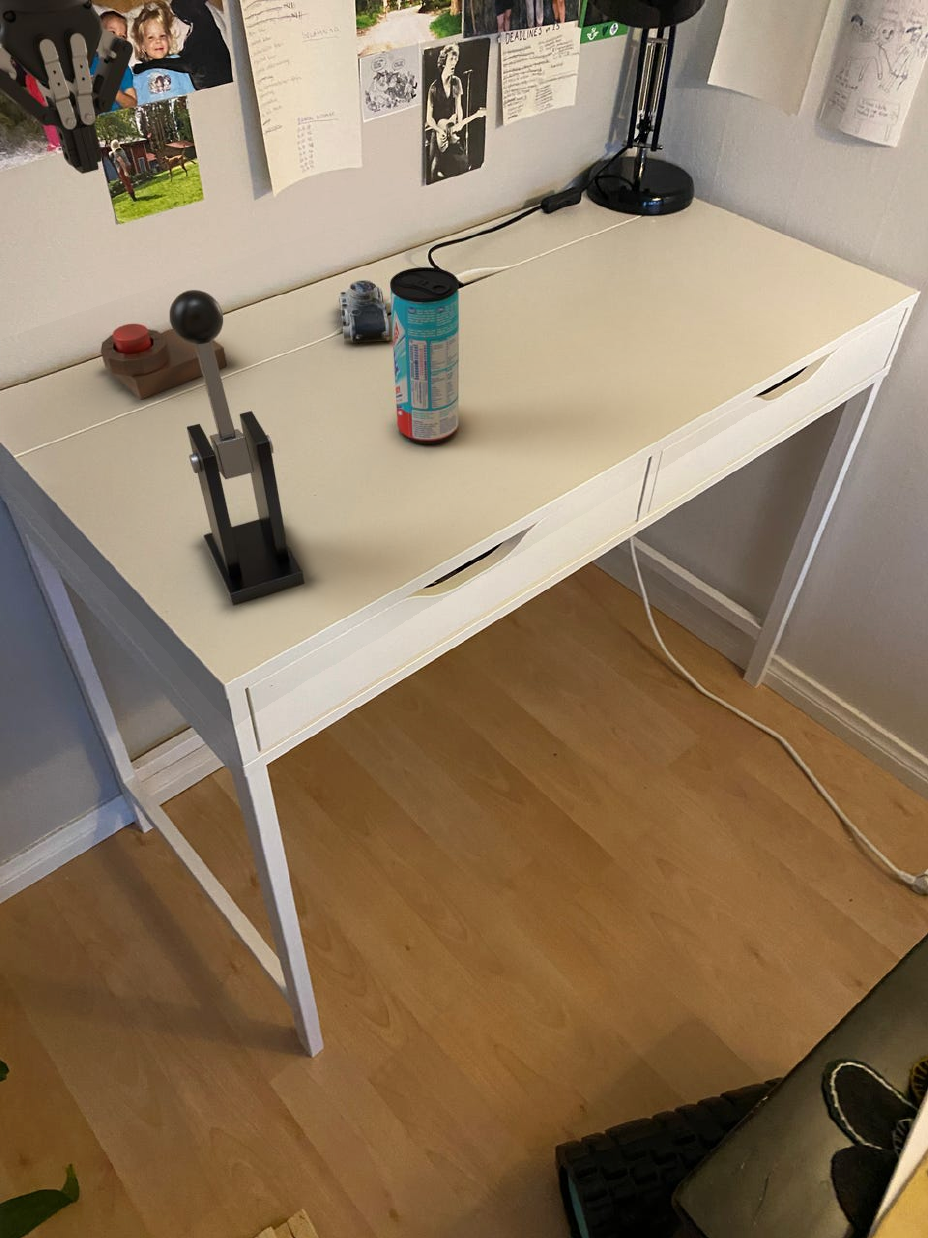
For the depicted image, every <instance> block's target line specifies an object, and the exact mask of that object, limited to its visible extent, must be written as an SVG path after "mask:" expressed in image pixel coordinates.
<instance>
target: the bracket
mask: <svg viewBox="0 0 928 1238" xmlns="http://www.w3.org/2000/svg"><path fill="white" fill-rule="evenodd" d="M239 419H240V425H241V430H242V434H243V435H244V436H245V437H246V441H247V445H248V449H249V453H250V457H251V461H252V465H253V469H254V472H252V473H250V478H251V483H252V488H253V494H254V499H255V504H256V508H257V514H258V519H255V520H251V521H248V522H244V523H241V524H237V525H234V526H232V524H231V523H232V522H231V517H230V514H229V509H228V504H227V501H226V500H227V499H226V496H225V491H224V487H223V482H222V477H221V473H220V471H219V468H218V463H217V458H216V455H215V453H214V451H213V447H212V444H211V442H210V441H209V439H208V438H207V435H206V433H205V431H204V429H203V427H202V425H201V424H200V423H197V424H192V425H189V426H188V425H187V426H186V431H187V435H188V439H189V443H190V447H191V452H192V454H189V455H188V457H189V462H190V466H191V468H192V470H193V472H194V474H197V476H198V482H199V485H200V489H201V494H202V497H203V502H204V506H205V510H206V514H207V519H208V523H209V527H210V531H211V532H209V533H205V534H203V540H204V543H205V547H206V550H207V551H208V553H209V555H210V558H211V560H212V562H213V565H214V566H215V569H216V571H217V574H218V576H219V578H220V580H221V582H222V584H223V587H224V589H225V592H226V594H227V595H228V598H229V600H230V603H231V604H232V605H237V604H240V603H244V602H247V601H250V600H253V599H256V598H259V597H262V596H265V595H269V594H273V593H276V592H278V591H282V590H285V589H289V588H291V587H295V586H297V585H302V584H304V583H305V578H304V577H305V576H304V571H303V570H302V567H301V566H300V564H299V562H298V560H297V559H296V556H295V554H294V553H293V551H292V549H291V548H290V546H289V544H288V542H287V536H286V531H285V524H284V519H283V513H282V507H281V500H280V494H279V487H278V483H277V476H276V472H275V471H276V470H275V464H274V458H273V454H274V445H273V443H272V439H271V437H270V436H269V434H266V432H265V431H264V429H263V428H262V426H261V424H260V422H259V420H258V418H257V417H256V415H255V414H254V412H253V411H252V410H249V411H245V412H241V413H239Z"/></svg>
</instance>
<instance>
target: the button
mask: <svg viewBox="0 0 928 1238" xmlns="http://www.w3.org/2000/svg"><path fill="white" fill-rule="evenodd" d="M148 329H149V328H148V327H147V326H145V325H143V324H140V323H126V324H123V325H120V326H118V327H117V328H115V329H114V330H113V333H112V335H113V338H114V341H115V345H116V348H117V351H118V352H119V353H123V354H138V353H141V352H143V351H146V350H148V349H149V348H150V347H151V341H150V337H149V333H148Z"/></svg>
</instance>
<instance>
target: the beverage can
mask: <svg viewBox="0 0 928 1238" xmlns="http://www.w3.org/2000/svg"><path fill="white" fill-rule="evenodd" d="M459 283H460V281H459V279H458V277H457V276H456V275H455V274H453V273H452V272H450V271H448V270H445V269H442V268H438V267H430V266H420V267H411V268H407V269H405V270H401V271H399V272H398V273H396V274H395V275H394V276H392V278H391V279H390V282H389V288H390V314H391V329H392V349H393V351H392V352H393V367H394V386H395V405H396V406H395V407H396V425H397V427H398V430H399V432H400V434H401V435H402V436H403V437H404V438H405V439H406V440H407V441H409V442H411V443H415V444H419V445H436V444H440V443H444V442H446V441H448V440H450V439H451V438H452V437H453V436H454V435H455V434H456V432H457V431H458V427H459V423H460V421H459V418H460V417H459V415H460V414H459V410H460V409H459V408H460V407H459V404H460V403H459V402H460V400H459V397H460V392H459V391H460V387H459V386H460V385H459V384H460V383H459V382H460V305H459V304H460V295H459V291H460V290H459V286H460V284H459Z"/></svg>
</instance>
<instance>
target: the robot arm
mask: <svg viewBox="0 0 928 1238" xmlns="http://www.w3.org/2000/svg"><path fill="white" fill-rule="evenodd" d="M97 53H98V55H99V59H98V63H97V65H96V67H95V71H94V72H93V76H92V78H91V73H90V71H91V69H92V67H93V65H94V64H93V63H94V60H95V58H96V54H97ZM133 53H134V46H133V44H132V42H131V41H129V40H127V39H125V38H124V37H122V36H119V35H117V34H115V33H113V32H111V31H109V30H108V29H106V28H105V27H104V22H103V20H102V18H101V16H100V15H99V14H98V12H97V11H96V9H95V7H94V5H93V2H92V0H0V92H1V94H3V95H4V96H6V97H7V98H8V99H9V100H10V101H12V103H13V104H15V105H16V106H17V107H18V108H19V109H21V110H22V111H23V112H24V113H26V114H27V115H28V116H29V117H30V118H31V119H33V120H35V121H37V122H38V123H40V124H41V125H43V126H46V127H49V126H53V127H54V128H55V130H56V133H57V137H58V140H59V145H60V148H61V151H62V155H63V159H64V160H65V161H66V163H67V164H68V165H69V166H71V167H73V168H74V170H76V171H77V172H79V173H80V174H82V175H84V174H87V173H91V172H95V171H98V170H99V169H100V168H99V163H101V162H102V159H103V158H102V157H103V156H102V155H103V153H102V149H101V145H100V142H99V138H98V134H97V131H96V128H95V121H96V119H97V117H98V116H100V115H101V114H102V113H110V112H111V111H112V110H113V106H114V104H115V101H116V100H117V99H116V98H117V97H118V93H119V91H120V88H121V85H122V83H123V80H124V78H125V75H126V72H127V70H128V66H129V64H130V61H131V58H132V56H133ZM11 59H12V60H13V61H14V62H15V63H16V64H17V65H18V66H19V67H21V69H22V70H24V71H25V72H26V73H27V74H28V75H29V76H30V77H31V78H32V79H35V82H36V84H37V88H38V90H39V92H40V93H41V95H42V96H43V99H44V103H45V105H44V104H42V102H40V101H39V100H37V98H36V97H34V96H33V95H32V94H31V93H30V92H29V91H28V90H26V88H24V87H23V86H22V85H20V84H19V83H18V82H17V81H16V79H17V75H18V74H17V70H16V68H15V67H14V66H13V64H12V61H11Z"/></svg>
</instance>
